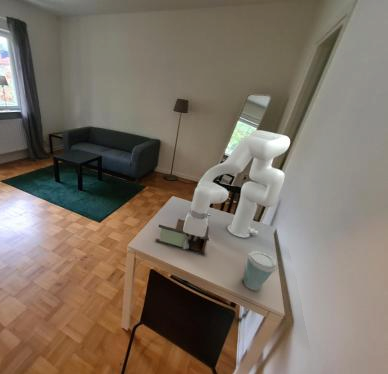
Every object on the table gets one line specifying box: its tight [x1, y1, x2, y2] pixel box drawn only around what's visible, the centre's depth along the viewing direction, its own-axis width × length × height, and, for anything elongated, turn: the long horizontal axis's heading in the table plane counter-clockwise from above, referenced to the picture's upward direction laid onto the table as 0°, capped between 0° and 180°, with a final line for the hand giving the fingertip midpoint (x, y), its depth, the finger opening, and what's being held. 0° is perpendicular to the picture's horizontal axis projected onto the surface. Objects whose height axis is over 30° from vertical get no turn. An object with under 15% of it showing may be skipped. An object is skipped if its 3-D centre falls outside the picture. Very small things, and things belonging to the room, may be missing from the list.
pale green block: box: [159, 228, 189, 250], centre depth 107 cm, size 15×4×8 cm, turn 71°
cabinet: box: [155, 218, 210, 256], centre depth 112 cm, size 25×12×10 cm, turn 71°
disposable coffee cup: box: [242, 250, 278, 291], centre depth 89 cm, size 11×11×15 cm
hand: (190, 244), depth 103 cm, fingers closed
